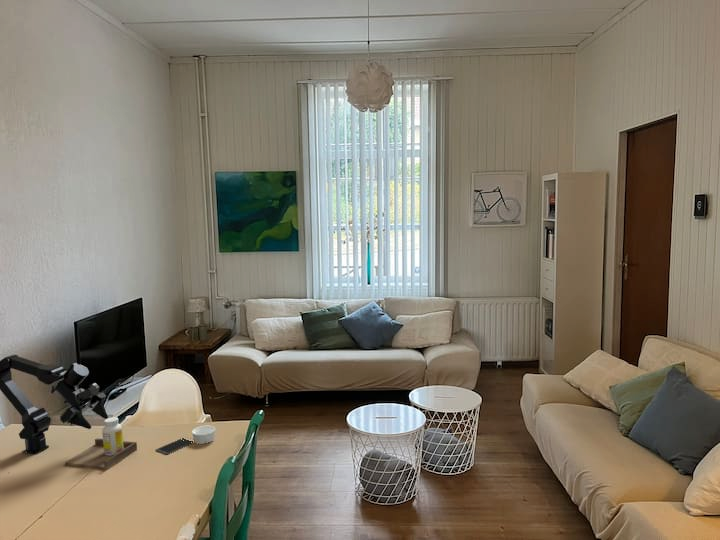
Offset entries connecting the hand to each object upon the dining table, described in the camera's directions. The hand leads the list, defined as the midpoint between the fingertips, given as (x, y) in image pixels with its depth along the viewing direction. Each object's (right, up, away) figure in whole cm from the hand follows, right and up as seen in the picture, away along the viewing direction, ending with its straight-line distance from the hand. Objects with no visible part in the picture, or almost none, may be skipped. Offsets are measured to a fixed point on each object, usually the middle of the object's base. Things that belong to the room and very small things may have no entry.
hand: (99, 423), depth 190 cm
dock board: (+2, -12, -1) cm, 12 cm away
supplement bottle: (+5, -11, 0) cm, 12 cm away
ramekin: (+36, -11, +12) cm, 39 cm away
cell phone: (+26, -12, +7) cm, 30 cm away
